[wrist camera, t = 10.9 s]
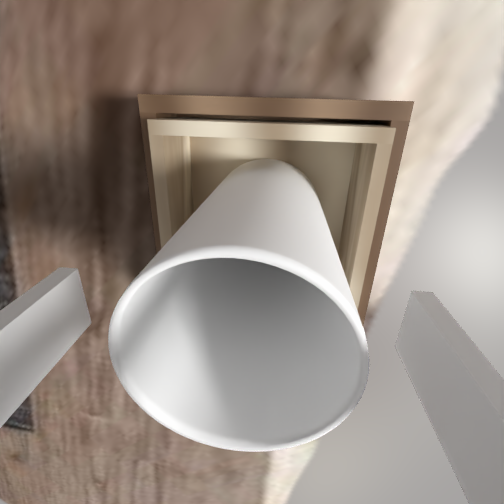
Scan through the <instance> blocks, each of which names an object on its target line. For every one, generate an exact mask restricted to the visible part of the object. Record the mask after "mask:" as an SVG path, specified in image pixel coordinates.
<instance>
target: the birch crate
mask: <svg viewBox="0 0 504 504" xmlns="http://www.w3.org/2000/svg"><path fill="white" fill-rule="evenodd" d="M147 123H148V132H149V141H150V150H151V159H152V168H153V178H154V187H155V196H156V205H157V214H158V223H159V232H160V241H161V249H162V248H163V246H164V245H165V244H166V243H167V242H168V241H169V240H170V239H171V238H172V236H173V235H174V234H175V233H176V232H177V231H178V230H179V229H180V228H181V227H182V225H183V224H184V223H185V222H186V221H187V220H188V219H189V218H190V217H191V215H192V214H193V213H194V212H195V211H196V210H197V209H198V208H199V207H200V205H201V204H202V203H203V202H204V201H205V200H206V199H207V198H208V197H209V196H210V194H211V193H212V192H213V191H214V190H215V189H216V188H217V187H218V186H219V184H220V183H221V182H222V181H223V180H224V179H225V178H226V177H227V176H228V174H230V173H231V172H232V171H233V170H234V169H236V168H237V167H239V166H240V165H242V164H244V163H247V162H250V161H253V160H258V159H275V160H280V161H283V162H286V163H289V164H291V165H293V166H294V167H296V168H297V169H299V170H300V171H301V172H302V173H304V174H305V175H306V176H307V178H308V179H309V180H310V181H311V183H312V185H313V186H314V188H315V190H316V193H317V196H318V198H319V201H320V204H321V207H322V210H323V213H324V216H325V219H326V222H327V224H328V227H329V230H330V233H331V236H332V239H333V242H334V245H335V247H336V250H337V253H338V256H339V259H340V262H341V265H342V268H343V270H344V273H345V276H346V279H347V282H348V285H349V288H350V291H351V294H352V297H353V299H354V302H355V305H356V308H357V310H358V306H359V301H360V296H361V292H362V287H363V282H364V277H365V273H366V268H367V263H368V259H369V254H370V249H371V244H372V240H373V235H374V230H375V226H376V221H377V216H378V211H379V207H380V202H381V197H382V193H383V188H384V183H385V178H386V174H387V169H388V164H389V160H390V155H391V150H392V145H393V141H394V136H395V131H396V128H394V127H388V126H383V125H377V124H371V123H354V122H324V121H293V120H263V119H233V118H203V117H172V118H159V119H147Z"/></svg>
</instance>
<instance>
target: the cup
mask: <svg viewBox="0 0 504 504" xmlns="http://www.w3.org/2000/svg"><path fill="white" fill-rule="evenodd" d="M108 343H109V352H110V357H111V361H112V364H113V367H114V370H115V372H116V374H117V376H118V378H119V380H120V382H121V384H122V385H123V387H124V388H125V390H126V391H127V393H128V394H129V395H130V396H131V398H132V399H133V400H134V401H135V402H136V403H137V404H138V405H139V406H140V407H141V408H142V409H143V410H144V411H145V412H146V413H147V414H148V415H150V416H151V417H152V418H154V419H155V420H156V421H158V422H159V423H161V424H162V425H164V426H165V427H167V428H169V429H171V430H172V431H174V432H176V433H178V434H180V435H182V436H184V437H187V438H189V439H192V440H194V441H197V442H200V443H203V444H206V445H210V446H214V447H218V448H223V449H229V450H236V451H253V452H258V451H273V450H280V449H286V448H291V447H295V446H298V445H301V444H304V443H307V442H310V441H312V440H315V439H317V438H319V437H321V436H323V435H324V434H326V433H328V432H329V431H331V430H332V429H334V428H335V427H336V426H338V425H339V424H340V423H341V422H343V421H344V420H345V419H346V418H347V417H348V416H349V414H350V413H351V412H352V411H353V410H354V408H355V407H356V405H357V404H358V402H359V401H360V399H361V397H362V395H363V392H364V390H365V387H366V384H367V380H368V374H369V353H368V346H367V340H366V336H365V332H364V329H363V326H362V323H361V320H360V317H359V314H358V311H357V308H356V305H355V302H354V299H353V297H352V294H351V291H350V288H349V285H348V282H347V279H346V276H345V273H344V270H343V268H342V265H341V262H340V259H339V256H338V253H337V250H336V247H335V245H334V242H333V239H332V236H331V233H330V230H329V227H328V224H327V222H326V219H325V216H324V213H323V210H322V207H321V204H320V201H319V198H318V196H317V193H316V190H315V188H314V186H313V185H312V183H311V181H310V180H309V179H308V178H307V176H306V175H305V174H304V173H302V172H301V171H300V170H299V169H297V168H296V167H294V166H293V165H291V164H289V163H286V162H283V161H280V160H275V159H258V160H253V161H250V162H247V163H244V164H242V165H240V166H239V167H237V168H236V169H234V170H233V171H232V172H231V173H230V174H228V176H227V177H226V178H225V179H224V180H223V181H222V182H221V183H220V184H219V186H218V187H217V188H216V189H215V190H214V191H213V192H212V193H211V194H210V196H209V197H208V198H207V199H206V200H205V201H204V202H203V203H202V204H201V205H200V207H199V208H198V209H197V210H196V211H195V212H194V213H193V214H192V215H191V217H190V218H189V219H188V220H187V221H186V222H185V223H184V224H183V225H182V227H181V228H180V229H179V230H178V231H177V232H176V233H175V234H174V235H173V236H172V238H171V239H170V240H169V241H168V242H167V243H166V244H165V245H164V246H163V248H162V249H161V250H160V251H159V252H158V253H157V254H156V255H155V257H154V258H153V259H152V260H151V261H150V262H149V263H148V264H147V265H146V267H145V268H144V269H143V270H142V271H141V272H140V273H139V274H138V276H137V277H136V278H135V279H134V280H133V281H132V282H131V283H130V285H129V286H128V287H127V289H126V290H125V292H124V293H123V295H122V296H121V298H120V300H119V301H118V303H117V305H116V307H115V309H114V312H113V315H112V317H111V321H110V326H109V335H108Z"/></svg>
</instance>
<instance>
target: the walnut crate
mask: <svg viewBox="0 0 504 504" xmlns="http://www.w3.org/2000/svg"><path fill="white" fill-rule="evenodd" d="M137 95H138V104H139V112H140V121H141V129H142V138H143V146H144V154H145V163H146V171H147V180H148V188H149V197H150V205H151V214H152V222H153V230H154V239H155V247H156V254H157V253H158V252H159V251H160V250H161V241H160V232H159V223H158V214H157V205H156V196H155V187H154V178H153V168H152V159H151V150H150V141H149V132H148V123H147V119H159V118H172V117H203V118H233V119H263V120H293V121H324V122H354V123H371V124H377V125H383V126H388V127H394V128H396V131H395V136H394V141H393V145H392V150H391V155H390V160H389V164H388V169H387V174H386V178H385V183H384V188H383V193H382V197H381V202H380V207H379V211H378V216H377V221H376V226H375V230H374V235H373V240H372V244H371V249H370V254H369V259H368V263H367V268H366V273H365V277H364V282H363V287H362V292H361V296H360V301H359V306H358V310H357V311H358V314H359V317H360V320H361V323H362V326H363V324H364V320H365V315H366V311H367V306H368V302H369V298H370V293H371V289H372V284H373V280H374V276H375V271H376V267H377V262H378V258H379V254H380V249H381V245H382V240H383V236H384V232H385V227H386V223H387V219H388V214H389V210H390V205H391V201H392V197H393V192H394V188H395V183H396V179H397V175H398V170H399V166H400V161H401V157H402V153H403V148H404V144H405V139H406V135H407V131H408V126H409V122H410V117H411V113H412V109H413V104H414V102H413V101H376V100H339V99H303V98H266V97H229V96H192V95H155V94H137Z"/></svg>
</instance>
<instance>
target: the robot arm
mask: <svg viewBox="0 0 504 504" xmlns="http://www.w3.org/2000/svg"><path fill="white" fill-rule="evenodd" d="M90 324H91V319H90V315H89V312H88V308H87V304H86V300H85V296H84V292H83V288H82V284H81V280H80V276H79V272H78V269H76V268H61V267H60V268H58V269H57V270H55V271H54V272H53V273H51V274H50V275H49V276H47V277H46V278H44V279H43V280H42V281H40V282H39V283H38V284H36V285H35V286H34V287H32V288H31V289H29V290H28V291H27V292H25V293H24V294H23V295H21V296H20V297H18V298H17V299H16V300H14V301H13V302H12V303H10V304H9V305H8V306H6V307H5V308H3V309H2V310H1V311H0V428H1V426H2V425H3V424H4V423H5V422H6V421H7V419H8V418H9V417H10V416H11V415H12V414H13V413H14V411H15V410H16V409H17V408H18V407H19V406H20V405H21V403H22V402H23V401H24V400H25V399H26V398H27V396H28V395H29V394H30V393H31V392H32V391H33V390H34V388H35V387H36V386H37V385H38V384H39V383H40V382H41V380H42V379H43V378H44V377H45V376H46V375H47V374H48V372H49V371H50V370H51V369H52V368H53V367H54V365H55V364H56V363H57V362H58V361H59V360H60V359H61V357H62V356H63V355H64V354H65V353H66V352H67V351H68V349H69V348H70V347H71V346H72V345H73V344H74V343H75V341H76V340H77V339H78V338H79V337H80V336H81V334H82V333H83V332H84V331H85V330H86V329H87V328H88V326H89V325H90ZM395 348H396V350H397V353H398V355H399V357H400V359H401V361H402V363H403V365H404V367H405V369H406V372H407V374H408V376H409V378H410V380H411V382H412V384H413V386H414V388H415V391H416V393H417V395H418V397H419V399H420V401H421V403H422V405H423V407H424V409H425V412H426V414H427V416H428V418H429V420H430V422H431V424H432V426H433V429H434V431H435V433H436V435H437V437H438V439H439V441H440V443H441V445H442V448H443V450H444V452H445V454H446V456H447V458H448V460H449V462H450V464H451V467H452V469H453V471H454V473H455V475H456V477H457V479H458V481H459V483H460V486H461V488H462V490H463V492H464V494H465V496H466V498H467V500H468V503H469V504H504V380H503V378H502V377H501V376H500V374H499V373H498V372H497V371H496V370H495V368H494V367H493V366H492V365H491V363H490V362H489V361H488V360H487V359H486V357H485V356H484V355H483V354H482V352H481V351H480V350H479V349H478V347H477V346H476V345H475V344H474V342H473V341H472V340H471V339H470V338H469V336H468V335H467V334H466V333H465V331H464V330H463V329H462V328H461V327H460V325H459V324H458V323H457V322H456V320H455V319H454V318H453V317H452V316H451V314H450V313H449V312H448V311H447V310H446V308H445V307H444V306H443V304H442V303H441V302H440V301H439V300H438V298H437V297H436V296H435V295H434V293H433V292H421V291H411V295H410V298H409V301H408V304H407V308H406V311H405V314H404V318H403V321H402V325H401V328H400V331H399V335H398V338H397V341H396V345H395Z"/></svg>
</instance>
